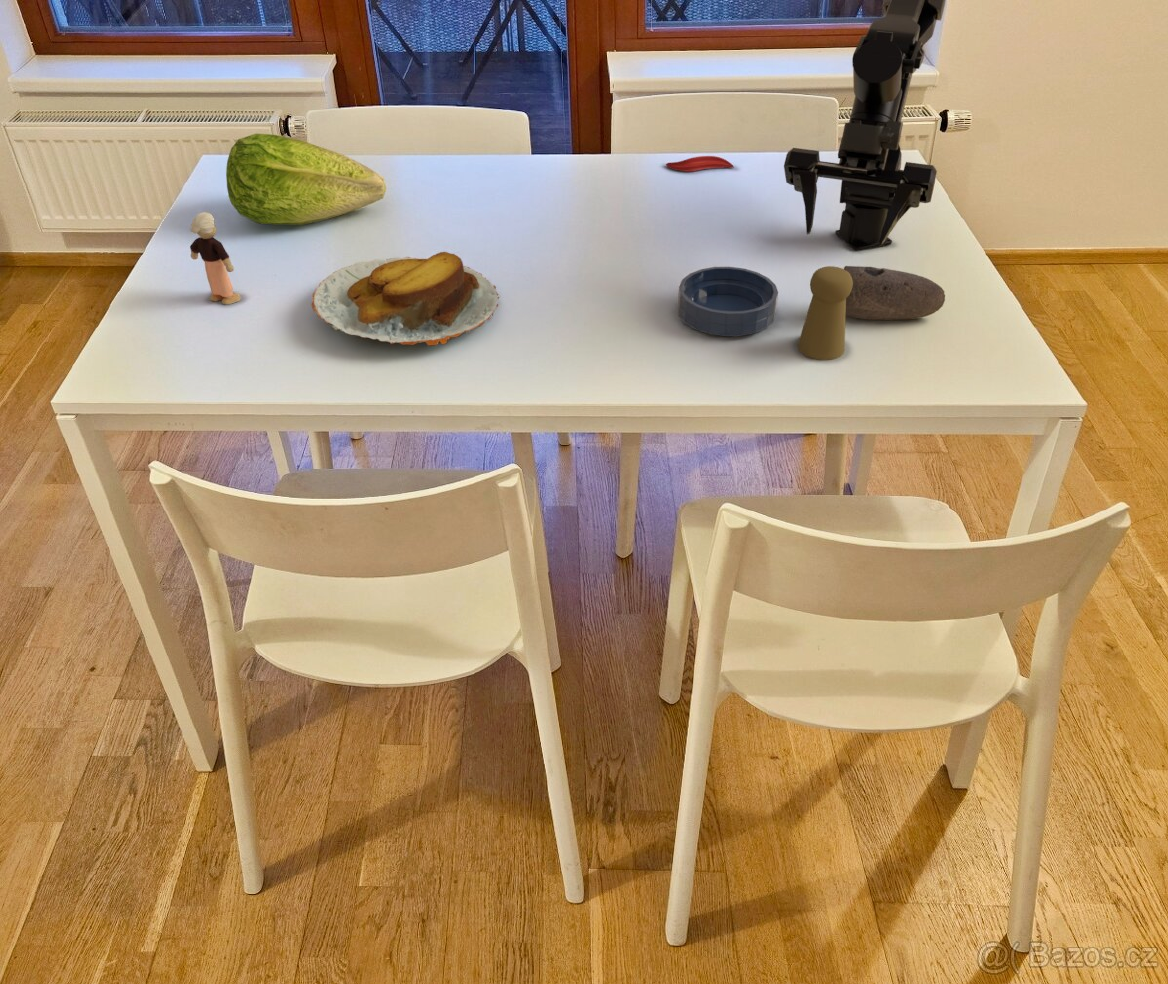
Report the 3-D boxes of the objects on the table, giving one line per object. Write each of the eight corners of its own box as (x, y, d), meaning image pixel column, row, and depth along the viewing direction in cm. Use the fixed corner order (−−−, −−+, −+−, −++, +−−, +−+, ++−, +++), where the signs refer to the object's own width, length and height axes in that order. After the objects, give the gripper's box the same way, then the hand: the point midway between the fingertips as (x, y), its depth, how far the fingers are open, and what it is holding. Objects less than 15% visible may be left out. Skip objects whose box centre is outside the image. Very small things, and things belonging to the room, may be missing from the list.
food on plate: (336, 269, 153) (329, 227, 149) (503, 269, 153) (501, 227, 148) (298, 360, 133) (289, 315, 129) (491, 360, 133) (488, 315, 129)
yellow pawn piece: (844, 362, 132) (858, 284, 125) (796, 357, 133) (807, 280, 126) (844, 338, 136) (858, 262, 130) (798, 333, 137) (809, 258, 130)
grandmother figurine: (253, 295, 147) (233, 211, 139) (238, 308, 144) (217, 223, 136) (207, 287, 149) (185, 204, 141) (191, 299, 146) (168, 215, 138)
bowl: (747, 285, 148) (750, 260, 145) (791, 329, 138) (795, 303, 136) (663, 301, 145) (664, 275, 142) (701, 347, 135) (704, 320, 132)
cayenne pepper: (663, 169, 181) (664, 159, 180) (667, 159, 184) (667, 149, 183) (732, 174, 179) (733, 163, 178) (734, 164, 182) (735, 153, 181)
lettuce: (384, 241, 162) (385, 151, 156) (222, 229, 158) (217, 137, 152) (387, 220, 175) (388, 136, 169) (238, 209, 171) (234, 122, 165)
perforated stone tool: (937, 310, 142) (948, 264, 138) (943, 329, 138) (954, 283, 134) (827, 304, 144) (834, 258, 139) (829, 323, 140) (837, 276, 135)
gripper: (796, 83, 127) (766, 203, 126) (952, 100, 122) (922, 225, 121) (800, 126, 138) (773, 236, 137) (944, 143, 133) (917, 258, 132)
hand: (843, 238), depth 131 cm, fingers open, 9 cm apart
